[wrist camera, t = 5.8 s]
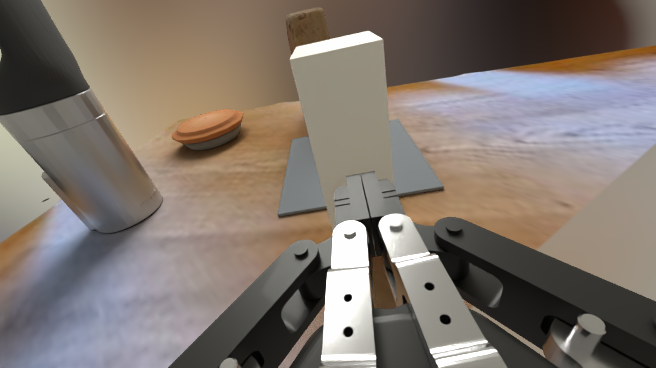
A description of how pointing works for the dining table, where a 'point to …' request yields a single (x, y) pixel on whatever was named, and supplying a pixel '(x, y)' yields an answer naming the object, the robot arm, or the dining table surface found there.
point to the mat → (306, 188)
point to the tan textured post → (306, 27)
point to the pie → (209, 129)
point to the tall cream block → (345, 109)
